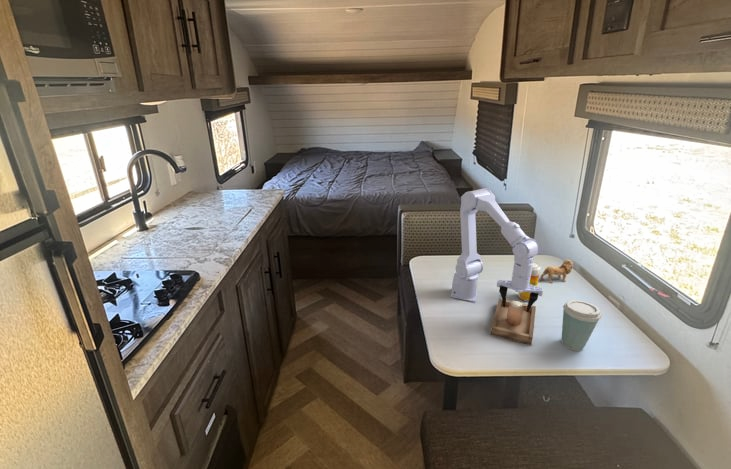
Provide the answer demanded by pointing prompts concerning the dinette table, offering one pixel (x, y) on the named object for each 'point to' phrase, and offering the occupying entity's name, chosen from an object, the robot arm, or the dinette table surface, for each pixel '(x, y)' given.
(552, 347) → the dinette table surface
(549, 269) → the lion figurine
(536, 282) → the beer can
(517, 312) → the tan and white cylinder
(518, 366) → the dinette table surface
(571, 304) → the disposable coffee cup
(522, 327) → the tray
